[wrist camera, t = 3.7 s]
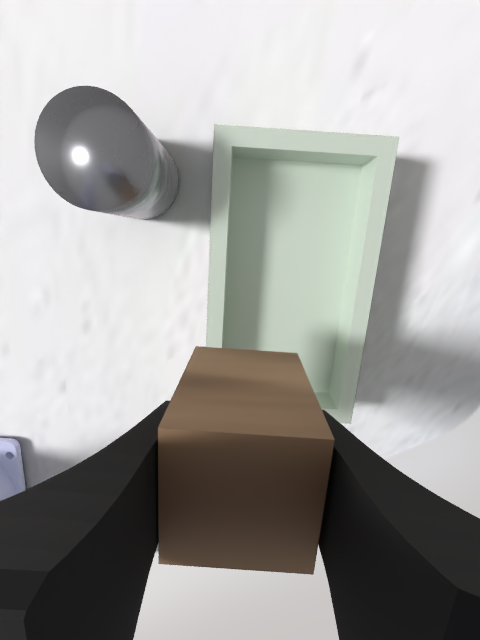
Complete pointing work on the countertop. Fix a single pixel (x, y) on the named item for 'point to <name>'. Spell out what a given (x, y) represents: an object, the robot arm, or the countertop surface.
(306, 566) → the walnut block
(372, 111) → the countertop surface
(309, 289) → the tray
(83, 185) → the steel cylinder
